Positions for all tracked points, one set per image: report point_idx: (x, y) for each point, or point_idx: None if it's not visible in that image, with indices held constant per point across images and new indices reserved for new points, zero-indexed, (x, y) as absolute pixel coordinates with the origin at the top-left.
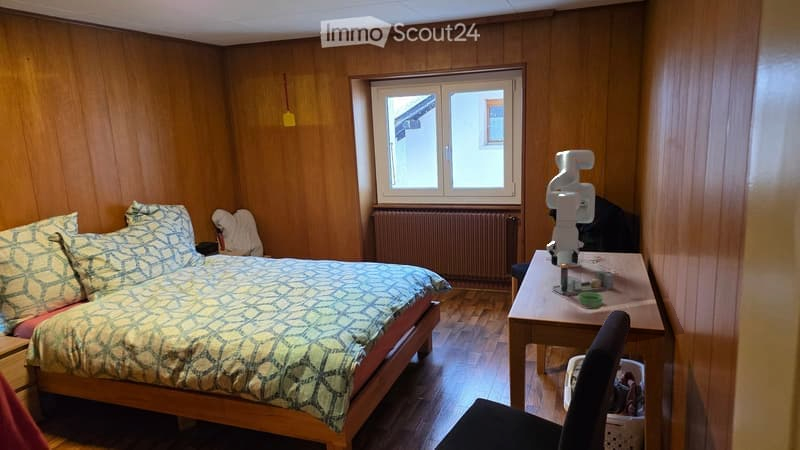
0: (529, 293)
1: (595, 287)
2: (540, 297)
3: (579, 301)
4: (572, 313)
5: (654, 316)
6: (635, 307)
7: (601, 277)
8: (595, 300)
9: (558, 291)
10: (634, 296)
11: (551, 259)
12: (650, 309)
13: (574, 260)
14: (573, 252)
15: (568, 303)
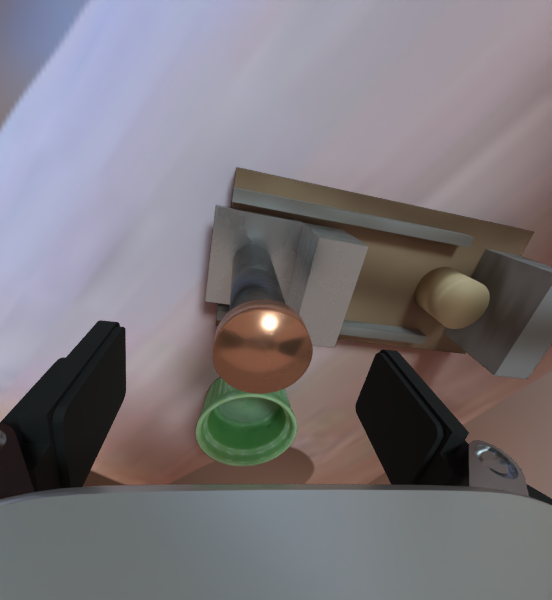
0: (75, 113)
1: (420, 304)
2: (107, 218)
3: (209, 395)
4: (131, 422)
5: None
6: (360, 452)
7: (500, 316)
8: (229, 462)
9: (209, 264)
10: (459, 391)
11: (36, 386)
12: (377, 472)
13: (372, 408)
14: (447, 468)
15: (189, 346)
